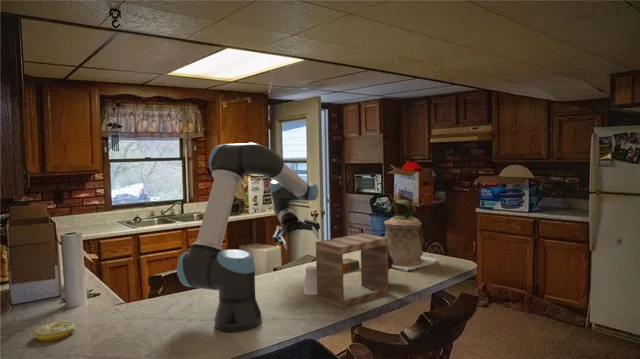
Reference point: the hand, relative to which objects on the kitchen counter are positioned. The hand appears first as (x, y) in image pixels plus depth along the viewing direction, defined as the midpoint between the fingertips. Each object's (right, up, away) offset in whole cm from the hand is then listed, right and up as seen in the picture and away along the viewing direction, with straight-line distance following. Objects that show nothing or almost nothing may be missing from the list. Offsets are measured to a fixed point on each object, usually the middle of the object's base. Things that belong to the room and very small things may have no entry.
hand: (302, 241), depth 173 cm
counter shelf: (+20, -20, -7) cm, 29 cm away
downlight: (+4, -20, -2) cm, 21 cm away
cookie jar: (+48, -17, +39) cm, 64 cm away
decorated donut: (-76, -25, -37) cm, 88 cm away
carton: (+17, -18, +31) cm, 40 cm away
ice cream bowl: (+33, -19, +9) cm, 39 cm away
